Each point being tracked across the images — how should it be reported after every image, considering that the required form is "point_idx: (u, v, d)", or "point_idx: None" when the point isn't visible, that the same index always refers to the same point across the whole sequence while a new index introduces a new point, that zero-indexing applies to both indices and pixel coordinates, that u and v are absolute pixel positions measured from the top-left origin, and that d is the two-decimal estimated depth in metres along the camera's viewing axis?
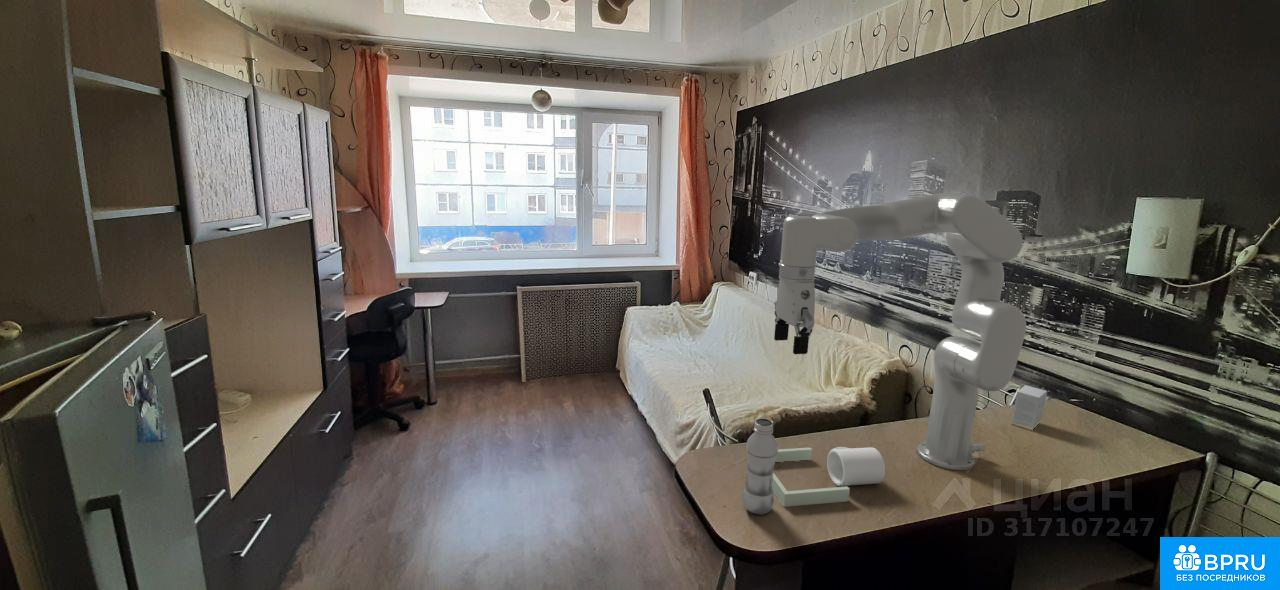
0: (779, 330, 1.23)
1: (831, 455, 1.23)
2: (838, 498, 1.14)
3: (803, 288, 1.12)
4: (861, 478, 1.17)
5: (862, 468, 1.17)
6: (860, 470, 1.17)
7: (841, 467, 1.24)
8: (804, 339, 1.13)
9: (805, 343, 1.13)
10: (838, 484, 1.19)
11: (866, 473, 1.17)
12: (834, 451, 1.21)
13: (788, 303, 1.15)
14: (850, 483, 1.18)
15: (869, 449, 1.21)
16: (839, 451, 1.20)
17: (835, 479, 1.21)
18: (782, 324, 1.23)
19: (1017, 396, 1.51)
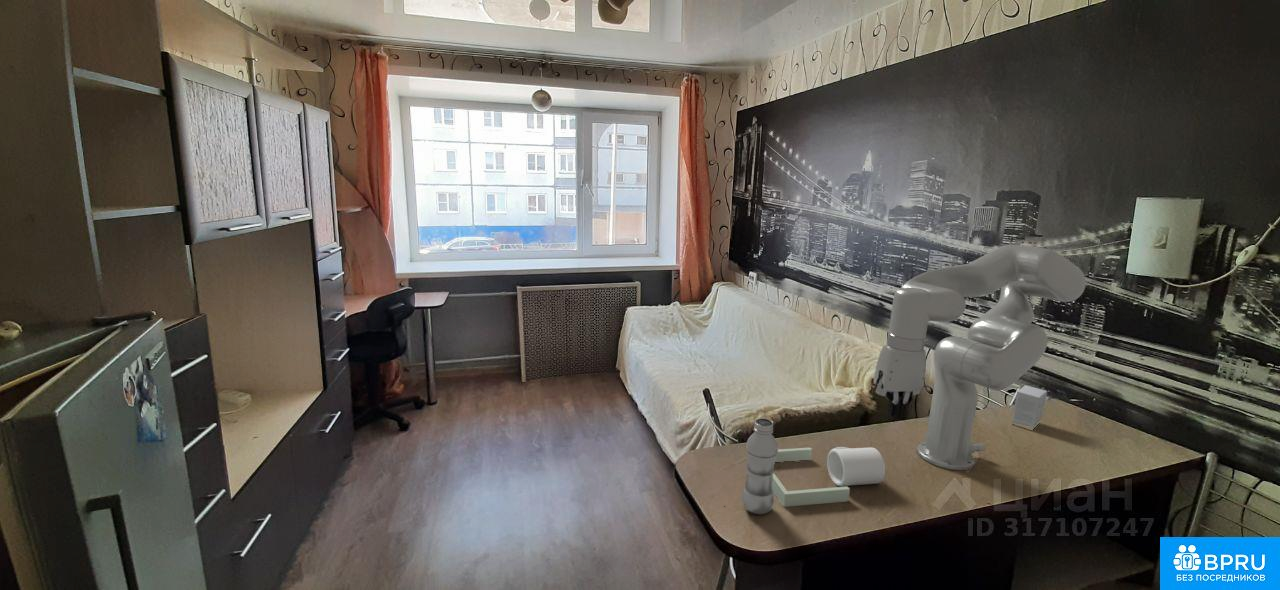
0: None
1: (831, 455, 1.23)
2: (838, 498, 1.14)
3: None
4: (861, 478, 1.17)
5: (862, 468, 1.17)
6: (860, 470, 1.17)
7: (841, 467, 1.24)
8: None
9: None
10: (838, 484, 1.19)
11: (866, 473, 1.17)
12: (834, 451, 1.21)
13: (916, 372, 1.18)
14: (850, 483, 1.18)
15: (869, 449, 1.21)
16: (839, 451, 1.20)
17: (835, 479, 1.21)
18: None
19: (1017, 396, 1.51)
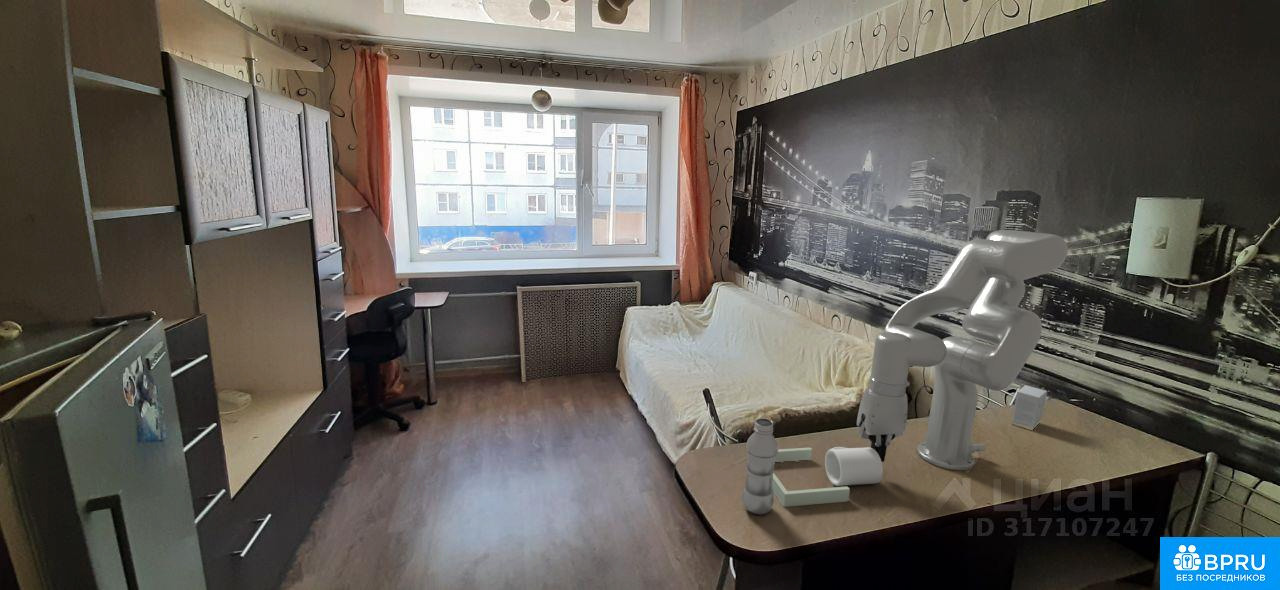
0: None
1: (829, 455, 1.23)
2: (838, 498, 1.14)
3: None
4: (858, 478, 1.17)
5: (859, 468, 1.17)
6: (857, 470, 1.17)
7: (839, 467, 1.24)
8: None
9: None
10: (835, 484, 1.19)
11: (863, 473, 1.17)
12: (831, 451, 1.21)
13: (898, 416, 1.20)
14: (847, 483, 1.18)
15: (867, 449, 1.21)
16: (836, 451, 1.20)
17: (832, 479, 1.21)
18: None
19: (1017, 396, 1.51)
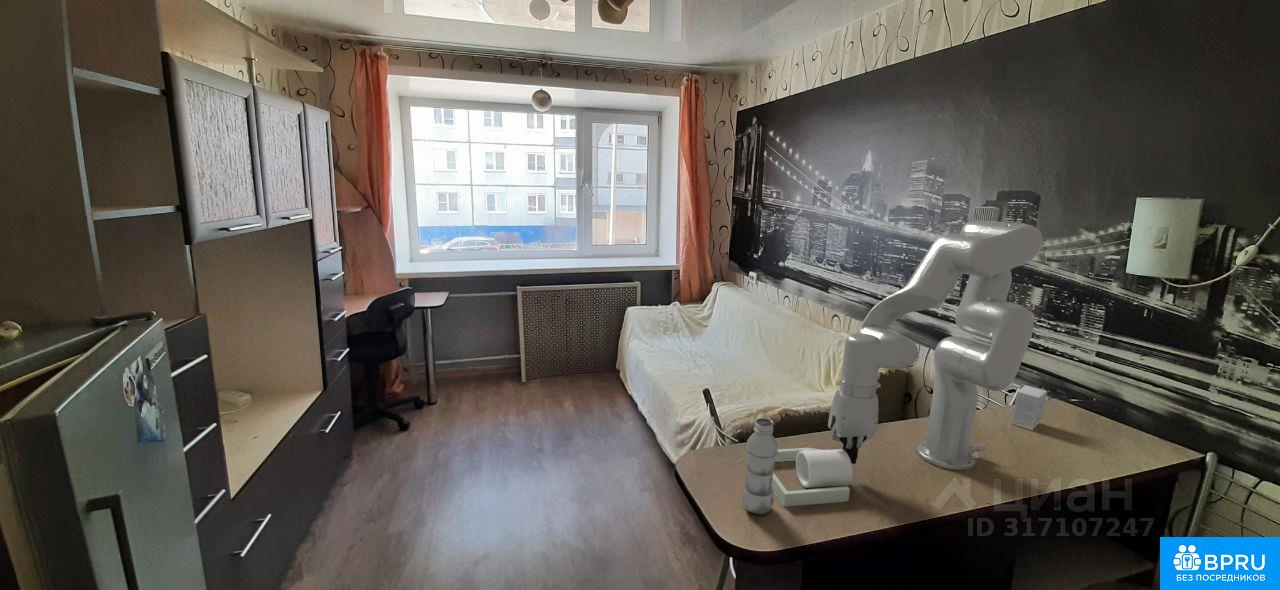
0: None
1: (799, 456, 1.22)
2: (838, 498, 1.14)
3: None
4: (827, 480, 1.16)
5: (828, 470, 1.16)
6: (826, 472, 1.16)
7: None
8: None
9: None
10: (805, 486, 1.18)
11: (833, 475, 1.16)
12: (802, 452, 1.20)
13: (869, 418, 1.18)
14: (816, 485, 1.17)
15: (838, 451, 1.20)
16: (806, 452, 1.19)
17: (803, 481, 1.20)
18: None
19: (1017, 396, 1.51)
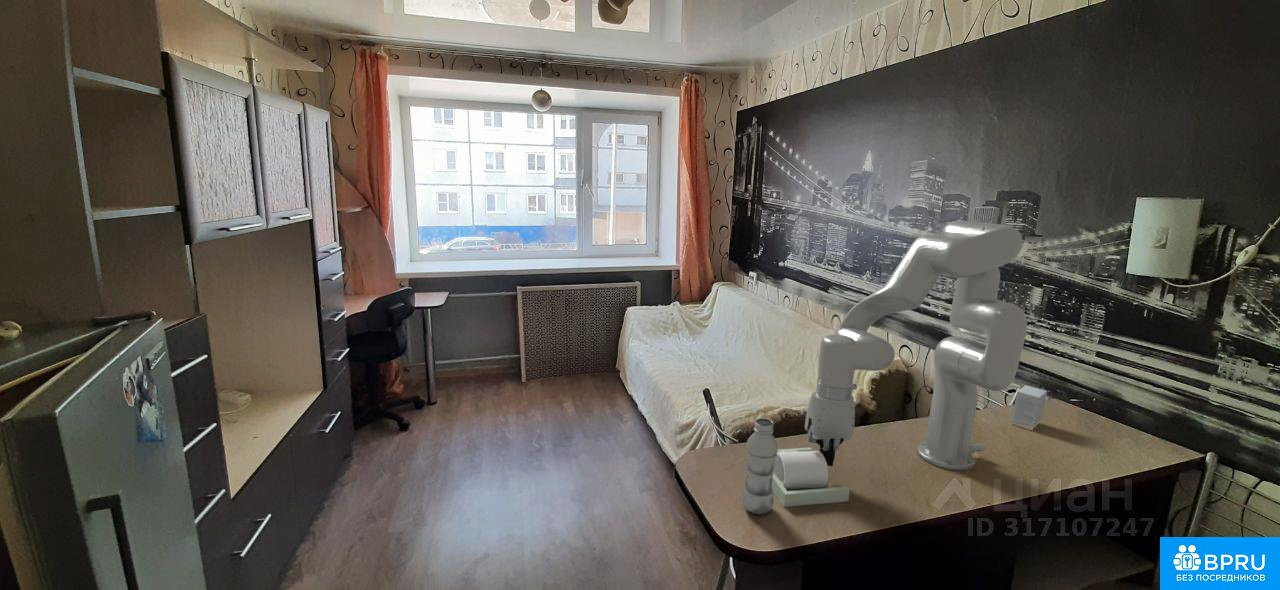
0: None
1: (776, 458, 1.21)
2: (838, 498, 1.14)
3: None
4: (803, 482, 1.15)
5: (804, 472, 1.15)
6: (802, 474, 1.15)
7: None
8: None
9: None
10: None
11: (808, 477, 1.15)
12: (778, 454, 1.19)
13: (845, 420, 1.18)
14: (792, 487, 1.16)
15: (814, 453, 1.19)
16: (782, 454, 1.18)
17: None
18: None
19: (1017, 396, 1.51)
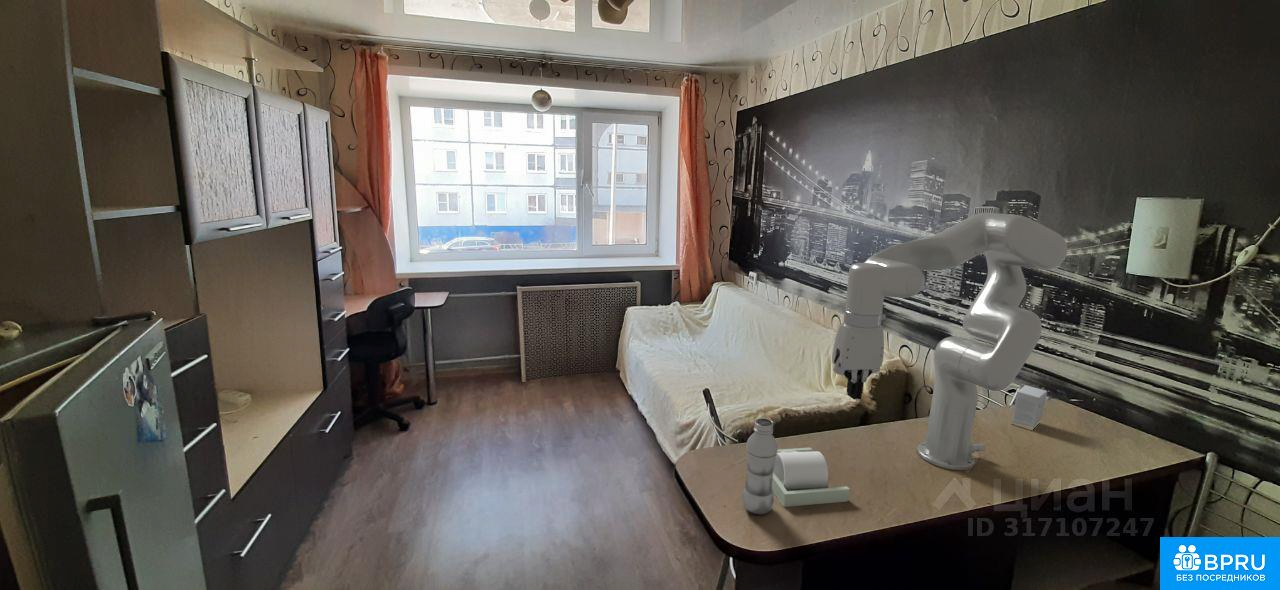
0: None
1: (776, 458, 1.21)
2: (838, 498, 1.14)
3: None
4: (803, 482, 1.15)
5: (804, 472, 1.15)
6: (802, 474, 1.15)
7: None
8: None
9: None
10: None
11: (808, 477, 1.15)
12: (777, 454, 1.19)
13: (874, 350, 1.15)
14: (792, 487, 1.16)
15: (814, 453, 1.19)
16: (782, 454, 1.18)
17: None
18: None
19: (1017, 396, 1.51)
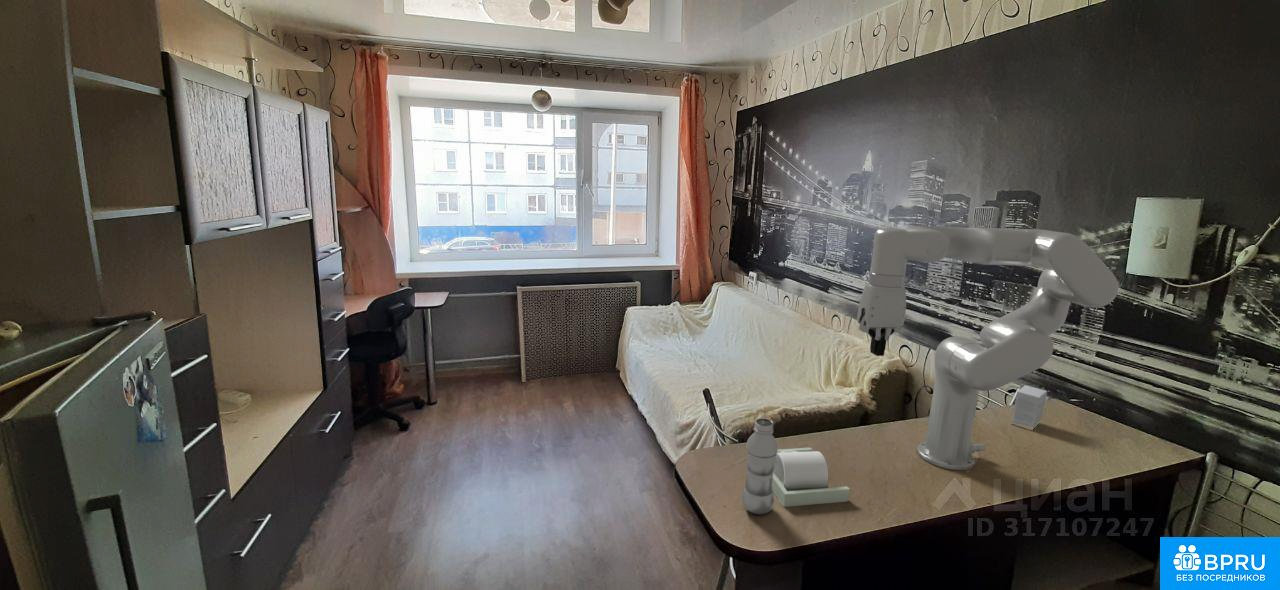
0: None
1: (776, 458, 1.21)
2: (838, 498, 1.14)
3: None
4: (803, 482, 1.15)
5: (804, 472, 1.15)
6: (802, 474, 1.15)
7: None
8: None
9: None
10: None
11: (808, 477, 1.15)
12: (777, 454, 1.19)
13: (897, 309, 1.24)
14: (792, 487, 1.16)
15: (814, 453, 1.19)
16: (782, 454, 1.18)
17: None
18: None
19: (1017, 396, 1.51)
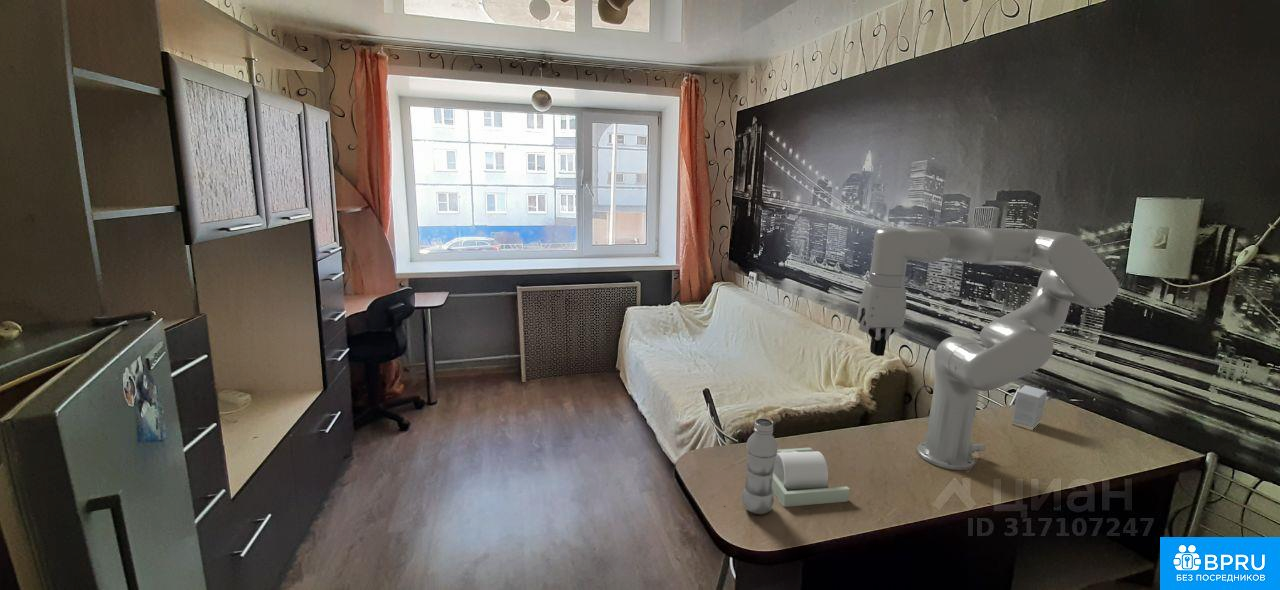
0: None
1: (776, 458, 1.21)
2: (838, 498, 1.14)
3: None
4: (803, 482, 1.15)
5: (804, 472, 1.15)
6: (802, 474, 1.15)
7: None
8: None
9: None
10: None
11: (808, 477, 1.15)
12: (778, 454, 1.19)
13: (897, 309, 1.24)
14: (792, 487, 1.16)
15: (814, 453, 1.19)
16: (782, 454, 1.18)
17: None
18: None
19: (1017, 396, 1.51)
